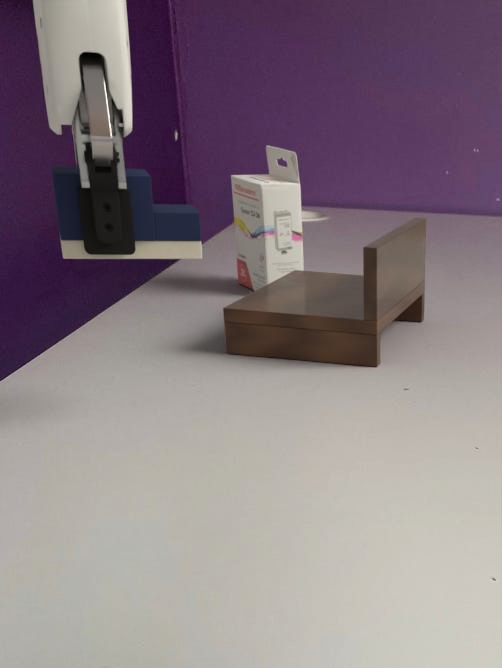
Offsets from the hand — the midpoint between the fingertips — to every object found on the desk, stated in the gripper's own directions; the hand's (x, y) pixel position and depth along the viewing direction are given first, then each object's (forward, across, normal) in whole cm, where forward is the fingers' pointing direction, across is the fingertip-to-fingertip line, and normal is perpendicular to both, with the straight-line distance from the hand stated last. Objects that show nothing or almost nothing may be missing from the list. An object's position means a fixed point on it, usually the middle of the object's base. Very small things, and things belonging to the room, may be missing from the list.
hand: (107, 244), depth 70 cm
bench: (+12, -22, +21) cm, 33 cm away
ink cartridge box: (+13, -45, +19) cm, 51 cm away
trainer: (+1, 0, +2) cm, 2 cm away
